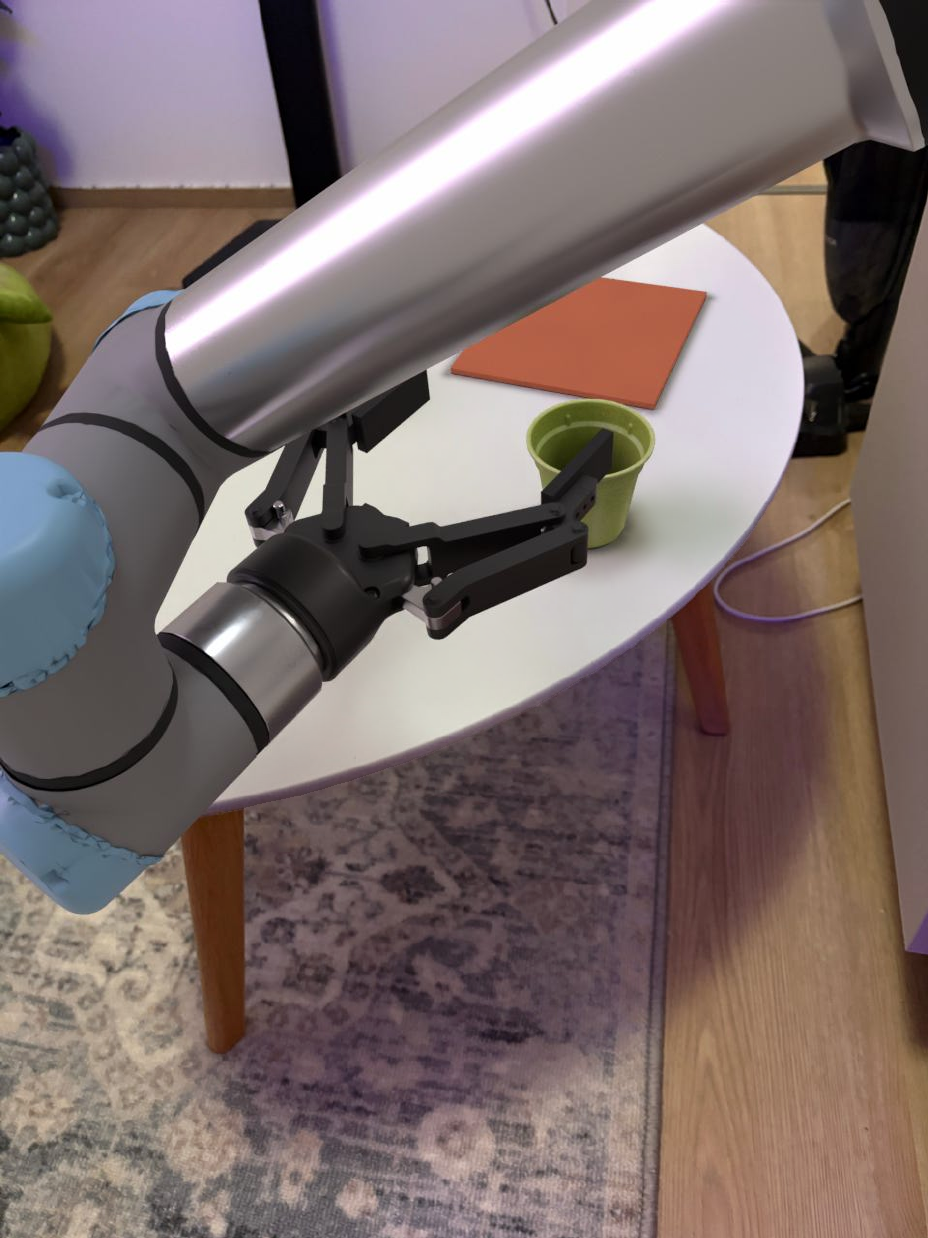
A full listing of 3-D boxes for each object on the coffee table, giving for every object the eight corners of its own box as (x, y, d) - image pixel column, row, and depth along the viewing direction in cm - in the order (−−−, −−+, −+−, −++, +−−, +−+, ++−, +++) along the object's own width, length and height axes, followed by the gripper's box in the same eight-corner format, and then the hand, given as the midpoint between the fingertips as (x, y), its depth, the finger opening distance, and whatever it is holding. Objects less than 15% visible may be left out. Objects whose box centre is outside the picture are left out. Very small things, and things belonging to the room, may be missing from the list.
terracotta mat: (706, 296, 96) (706, 291, 96) (653, 409, 85) (653, 404, 84) (523, 271, 102) (523, 266, 102) (450, 373, 91) (450, 367, 90)
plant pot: (616, 472, 79) (621, 385, 73) (667, 544, 73) (677, 457, 67) (512, 502, 78) (508, 416, 71) (555, 578, 72) (554, 491, 65)
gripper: (135, 588, 55) (365, 401, 66) (480, 793, 45) (688, 530, 55) (88, 491, 50) (348, 304, 60) (469, 699, 39) (703, 427, 50)
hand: (511, 412), depth 58 cm, fingers open, 13 cm apart
